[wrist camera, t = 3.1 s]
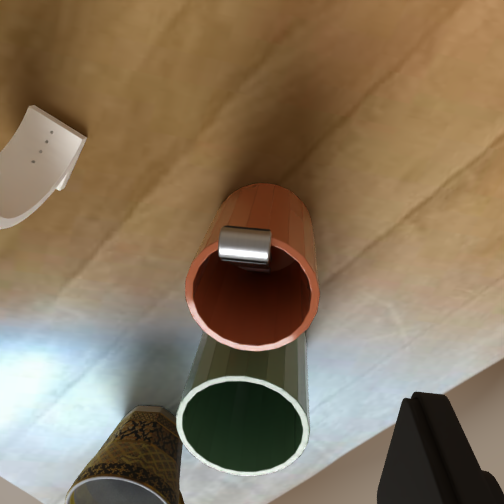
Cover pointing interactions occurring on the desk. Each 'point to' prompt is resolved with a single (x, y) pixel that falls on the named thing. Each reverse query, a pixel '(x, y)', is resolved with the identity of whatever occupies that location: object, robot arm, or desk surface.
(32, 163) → the headphone stand
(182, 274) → the desk surface
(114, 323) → the desk surface
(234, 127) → the desk surface
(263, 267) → the tongs
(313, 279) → the terracotta cup
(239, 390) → the green cup
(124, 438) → the ceramic cup
